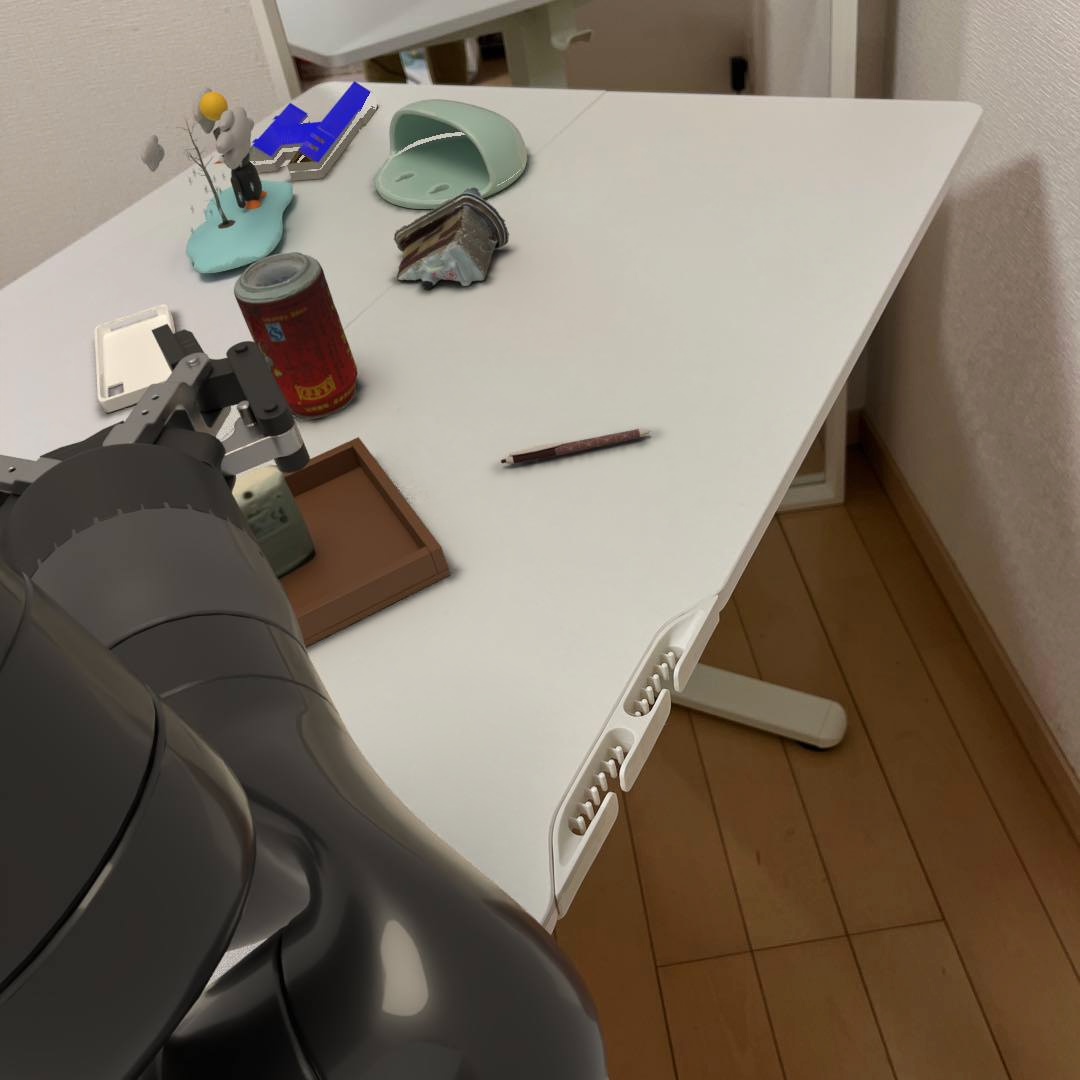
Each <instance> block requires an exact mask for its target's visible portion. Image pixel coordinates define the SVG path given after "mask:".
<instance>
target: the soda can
mask: <svg viewBox="0 0 1080 1080" xmlns="http://www.w3.org/2000/svg"><path fill="white" fill-rule="evenodd" d="M233 294H234V297H235V301H236V303H237V305H238V307H239V309H240V312H241V314H242V317H243V319H244V322H245V325H246V326H247V329H248V331H249V334H250V336H251V338H252V341H253V342H255V343H256V344H257V346H258V348H259V350H260V351H261V353H262V355H263V357H264V359H265V361H266V363H267V365H268V367H269V368H270V370H271V372H272V374H273V376H274V378H275V380H276V382H277V384H278V385H279V387H280V389H281V391H282V393H283V395H284V397H285V399H286V400H287V402H288V405H289V407H290V410H291V412H292V414H293V415H295V416H297V417H298V418H302V419H308V420H309V419H310V420H312V419H314V420H315V419H320V418H325V417H329V416H331V415H333V414H335V413H338V412H339V411H341V410H343V409H345V408H346V407H347V406H348V405H349V404H350V403H351V402H352V401H353V400H354V398H355V396H356V382H357V378H358V367H357V364H356V361H355V358H354V355H353V353H352V350H351V346H350V345H349V342H348V339H347V338H348V337H347V336H346V332H345V330H344V327H343V324H342V321H341V318H340V314H339V312H338V310H337V308H336V304H335V302H334V298H333V296H332V293H331V290H330V286H329V284H328V281H327V279H326V276H325V272H324V269H323V267H322V265H321V263H320V261H318V259H316V258H314V257H312V255H308V254H303V253H301V252H298V251H294V252H293V251H292V252H281V253H275V254H272V255H267V256H265V257H264V258H262V259H260V260H257V261H255V262H252V263H250V265H248V266H247V267H246V268H245V270H244V271H243V272H242V274H241V275H239V277H238V278H237V279H236V281H235V283H234V286H233Z"/></svg>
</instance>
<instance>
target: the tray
mask: <svg viewBox="0 0 1080 1080" xmlns="http://www.w3.org/2000/svg"><path fill="white" fill-rule="evenodd" d="M283 474H284V478H285V482H286V484H287V486H288V487H289V489H290V491H291V493H292V495H293V497H294V499H295V501H296V503H297V505H298V507H299V509H300V511H301V513H302V515H303V518H304V520H305V522H306V525H307V528H308V530H309V533H310V536H311V539H312V541H313V544H314V548H315V555H314V557H313V558H312V559H311V560H309V561H308V562H307V563H305V564H303V565H302V566H300V567H298V568H297V569H295V570H294V571H292V572H290V573H289V574H287V575H285V576H283V577H282V578H280V579H279V580H280V581H281V583H282V585H283V586H284V588H285V589H286V592H287V594H288V597H289V601H290V603H291V605H292V608H293V610H294V612H295V615H296V618H297V621H298V624H299V627H300V630H301V633H302V636H303V640H304V644H305V648H307V647H309V646H311V645H313V644H314V643H316V642H319V641H321V640H323V639H325V638H326V637H328V636H330V635H332V634H335V633H337V632H339V631H340V630H343V629H345V628H347V627H348V626H350V625H352V624H354V623H356V622H358V621H361V620H363V619H364V618H367V617H368V616H371V615H373V614H374V613H377V612H378V611H380V610H382V609H385V608H386V607H388V606H390V605H393V604H395V603H396V602H398V601H401V600H402V599H404V598H406V597H407V598H408V597H409V596H410V595H412V594H414V593H416V592H419V591H421V590H422V589H425V588H427V587H428V586H431V585H433V584H435V583H436V582H439V581H441V580H442V579H445V578H447V577H448V576H451V572H450V569H449V566H448V562H447V559H446V557H445V555H444V551H443V547H442V546H441V544H440V543H439V542H438V540H437V539H436V538H435V536H434V535H433V533H432V532H431V531H430V529H428V527H427V526H426V524H425V523H424V522H423V520H422V519H421V518H420V516H419V515H418V514H417V512H416V511H415V510H414V508H413V507H412V505H410V503H409V502H408V500H407V499H406V498H405V496H404V495H403V494H402V492H401V491H400V490H399V488H397V486H396V484H395V483H394V482H393V480H392V479H391V478H390V477H389V475H388V474H387V472H386V471H385V470H384V469H383V468H382V466H381V465H380V463H379V462H378V461H377V459H376V458H375V457H374V455H373V454H372V452H370V450H369V449H368V448H367V446H366V445H365V444H364V441H363V440H361V438H360V437H359V436H358V437H355V438H353V439H351V440H349V441H347V442H344V443H343V444H340V445H338V446H335V447H333V448H331V449H328V450H327V451H325V452H323V453H320V454H318V455H316V456H313V457H310V461H309V463H308V464H307V465H306V466H305V467H304V468H303V469H301V470H299V471H296V472H293V473H283Z"/></svg>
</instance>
